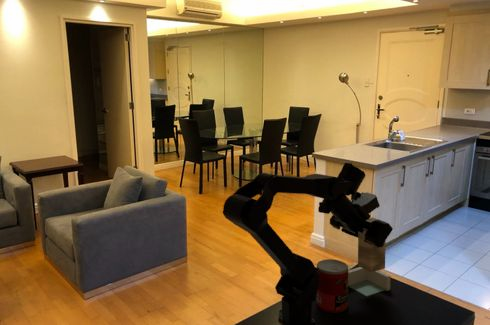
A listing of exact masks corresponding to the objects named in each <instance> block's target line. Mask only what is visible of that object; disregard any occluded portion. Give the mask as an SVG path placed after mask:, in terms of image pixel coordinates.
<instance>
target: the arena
mask: <svg viewBox="0 0 490 325" xmlns="http://www.w3.org/2000/svg"><path fill="white" fill-rule="evenodd" d="M348 288H351V289H352V290H354V291H356V292H358V293H359V294H361V295H363V296H365V297H367V298H368V297H370V296H372V295H376V294H378V293H381V292H384V291H390V290H391V275H389V274H387V273H385V272H382V271H381V270H378V271H374V272H369V271H367V270H365V269H363V268H361V267H359V266H357V267H355V268H351V269H348Z"/></svg>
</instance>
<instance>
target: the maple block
mask: <svg viewBox="0 0 490 325" xmlns="http://www.w3.org/2000/svg"><path fill="white" fill-rule="evenodd" d="M375 220H380V219H379V218H376V217H370V218H369V219H368V220H366V221H368V222H372V221H375ZM365 233H366V231H365V230H364V232H363V233H360V232H358V238H357V239H358V240H357V267H361V268H363V269H365V270H367V271H369V272H374V271H378V270H379V271H381V270H385V269H386V247H387V246H386V241H387V239H386V240H385V242H384V246H383V247H376V246H374V245H371V244H369V243H366V242H364V240H365Z"/></svg>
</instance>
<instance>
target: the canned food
mask: <svg viewBox="0 0 490 325" xmlns="http://www.w3.org/2000/svg"><path fill="white" fill-rule="evenodd" d="M316 268H318V269H319V270H317V272H318V273H319V276H320V278H319V280H320V282H319V287H318V291H317V296H316V302H317V305H318V307H319V308H320V309H321V310H323V311H324V312H327V313H332V314H335V313H336V314H339V313H342V312H344V311H346V310H347V308H348V307H349V286H348V271H349V266H348V264H347V263H345V262H344V261H342V260H338V259H331V258H329V259H322V260H319V261H318V262H317V263H316Z"/></svg>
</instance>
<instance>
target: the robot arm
mask: <svg viewBox="0 0 490 325" xmlns="http://www.w3.org/2000/svg"><path fill="white" fill-rule="evenodd" d="M365 178H366V174H365V171H364V170H361V169H360V168H359V167H357V166H354V165H353V163H350V162H345V163H344V164H343V166H342V168H341V170H340V171H339V174H338V175H337V176H332V175H326V174H321V173H312V174H307V175H305V176H292V175H291V176H290V175H281V174H273V173H272V174H271V173H268V172H261V173H259V174H257V175H256V176H255V177H254V179H252V180H251V181H249V182H248V183H246V184H244V185H242V186H240V187H239V188H238V189H237V190H236V191H235V192H234V193H232V194H231V195H229V196H228V197H227V198H226V200H224V204H223V207H222V208H223V210H222V215H223V216H224V218H225V219H226V220H228V221H229V222H230V223H232V224H233V225H235V226H237V227H238V228H240V229H241V230H243V231H244V232H247V233H249V235H250V236H251V237H252V238H253V239H254V240H255V241H256V242H257V244H258V245H259V246H260V247H261V248H262V249H263V250H264V252H265V253H267V255H268V256H269V257H270V258H271V259H272V260H273V261H274V263H275V264H277V266H278V267H279V269H280V270H279V273H280V275H281V277H280V278H279V280H278V281H277V283H276V285H275V286H274V289H275V291H276V294H278V295H280V296H282V297H281V314H280V315H278V320H280V321H281V322H282V323H283V324H285V325H312V323H313V324H315V323H316V322H315V319H314V318H312V316H313V312H312V311H313V308H312V306H313V303H314V302H315V301H317V291H318V287H319V282H320V280H319V278H320V276H319V273H318V272H317V270H319V269H318V268H317V266H315V264H314V263H313V261H312V260H311V259H310V258H307V257H305V256H302V255H299V254H297V253H295V252H293V251H292V250H291V248H290V247H289V246H288V245H287V244H286V243H285V242H284V240H283V239H282V238H281V237H280V236H279V235H278V233H277V232H276V231H275V229H273V227H272V226H271V224H269V221H268V220H269V219H268V213H267V212H268V211H269V210H270V209H271V208H272V205H273V201H274V199H275V196H276V195H277V194H278V193H279V194H298V195H307V196H308V195H309V196H311V197H316V198H319V199H322V200H321V201H319V202H318V213H322V214H326V215H329V214H330V213H331V214H332V215H331V217H330V219H329V225H330V226H331V227H332V228H334V229H335V230H336V229H337V230H338V231H341V232H343V234H346V235H349V236H353V237H355V238H356V239H358V232H360V233H363V232H364V230H365V231H366V233H365V240H364V242H366V243H369V244H371V245H374V246H376V247H383V246H384V242H385V240H386V241H387V239H388V237H389V236H390V235H391V233H392V231H393V227H392V226H391V224H390V223H389V222H387V221H384V220H381V219H379V220H375V221H372V222H368V221H366V220H368V219H369V218H372V217H371V216H372V215H371V213H372V212H373V211H375V210H376V209H379V208H380V202H379V200H378V196H377V195H376V194H373V193H370V192H362V191H361V192H359V191H358V190H359V189H360V186H361V185H362V183H363V181H364V179H365ZM260 194H261V195H260ZM258 195H260V196H259V197H258V198H257V199H254V198H255V197H256V196H258ZM348 196H350V199H349V197H348ZM340 229H341V230H340Z"/></svg>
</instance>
